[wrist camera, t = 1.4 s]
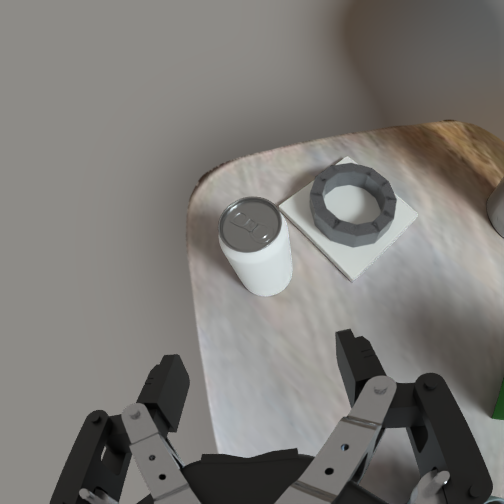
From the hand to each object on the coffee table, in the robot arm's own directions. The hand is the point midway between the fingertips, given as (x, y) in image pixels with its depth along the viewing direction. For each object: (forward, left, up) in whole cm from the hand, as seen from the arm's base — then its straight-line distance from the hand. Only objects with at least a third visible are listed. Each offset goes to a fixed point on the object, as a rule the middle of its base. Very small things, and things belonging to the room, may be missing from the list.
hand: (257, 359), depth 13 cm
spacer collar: (-20, -9, -18) cm, 29 cm away
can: (-6, -10, -19) cm, 22 cm away
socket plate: (-20, -9, -18) cm, 29 cm away
